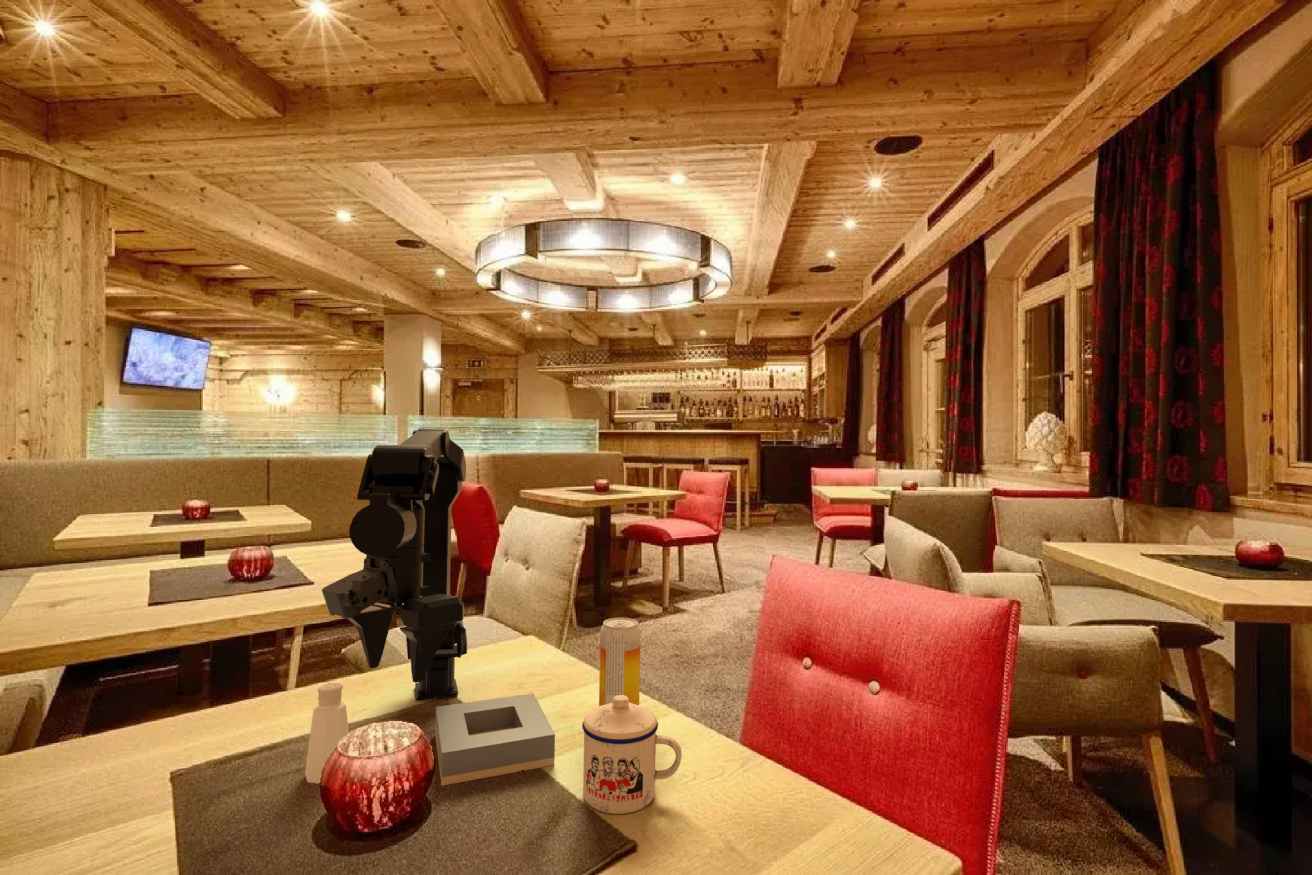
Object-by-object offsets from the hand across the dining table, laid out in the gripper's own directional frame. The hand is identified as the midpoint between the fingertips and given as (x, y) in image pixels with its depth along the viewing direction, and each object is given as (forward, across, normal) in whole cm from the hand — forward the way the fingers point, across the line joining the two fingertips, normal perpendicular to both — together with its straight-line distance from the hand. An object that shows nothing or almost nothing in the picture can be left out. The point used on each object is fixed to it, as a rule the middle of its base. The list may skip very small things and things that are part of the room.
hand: (394, 674), depth 77 cm
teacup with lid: (+14, +24, +16) cm, 32 cm away
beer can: (+13, +11, +30) cm, 35 cm away
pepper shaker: (+13, -9, -3) cm, 16 cm away
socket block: (+13, +2, +14) cm, 19 cm away
